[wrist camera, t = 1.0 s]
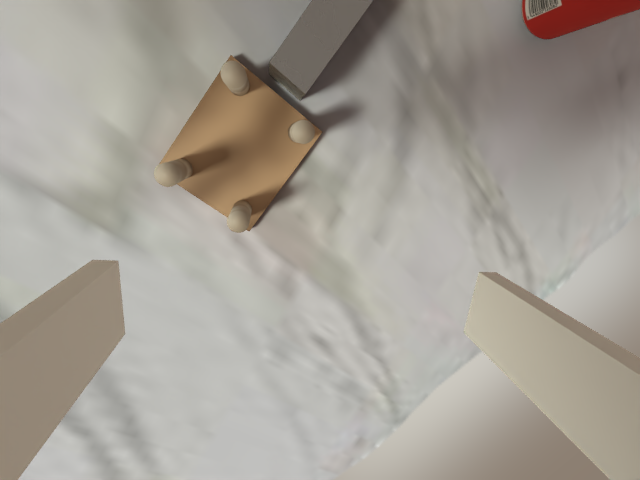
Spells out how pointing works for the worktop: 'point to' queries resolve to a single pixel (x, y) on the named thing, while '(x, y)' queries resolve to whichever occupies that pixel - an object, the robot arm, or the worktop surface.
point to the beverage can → (570, 14)
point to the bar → (314, 42)
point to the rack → (238, 147)
